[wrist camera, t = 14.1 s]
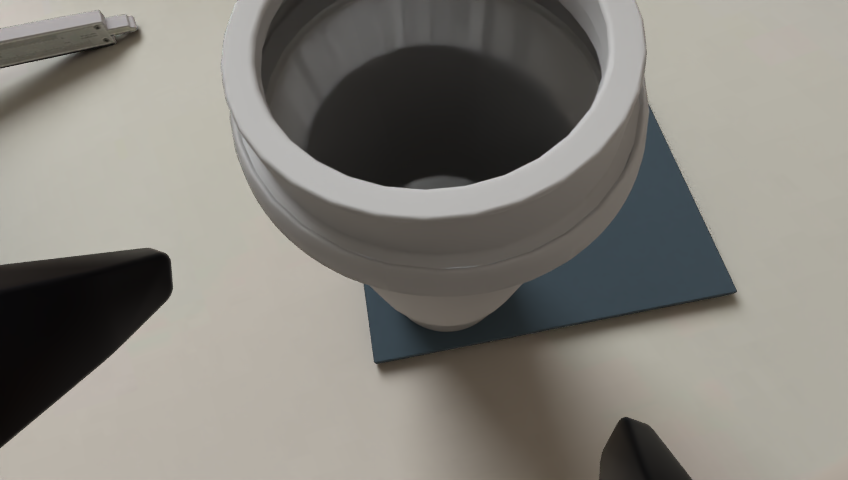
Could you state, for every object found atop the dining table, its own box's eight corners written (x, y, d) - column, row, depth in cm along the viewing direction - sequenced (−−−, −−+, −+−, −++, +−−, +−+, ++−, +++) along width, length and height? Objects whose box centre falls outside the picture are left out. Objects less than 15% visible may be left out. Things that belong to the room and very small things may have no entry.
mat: (731, 294, 16) (738, 291, 16) (375, 364, 16) (373, 363, 16) (595, 2, 22) (597, -5, 22) (334, 53, 22) (332, 47, 22)
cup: (569, 301, 16) (817, 75, 5) (424, 401, 15) (337, 395, 4) (463, 169, 19) (473, -180, 8) (332, 249, 18) (123, -13, 7)
